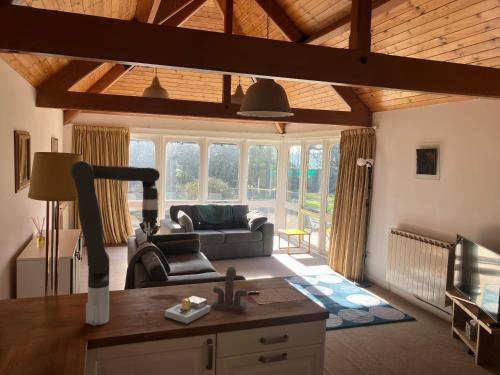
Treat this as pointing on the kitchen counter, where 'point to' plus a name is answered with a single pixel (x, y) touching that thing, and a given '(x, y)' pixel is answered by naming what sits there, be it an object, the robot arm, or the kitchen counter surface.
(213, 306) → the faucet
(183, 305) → the cylinder
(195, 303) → the shunt plate
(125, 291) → the kitchen counter surface
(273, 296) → the kitchen counter surface
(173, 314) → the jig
